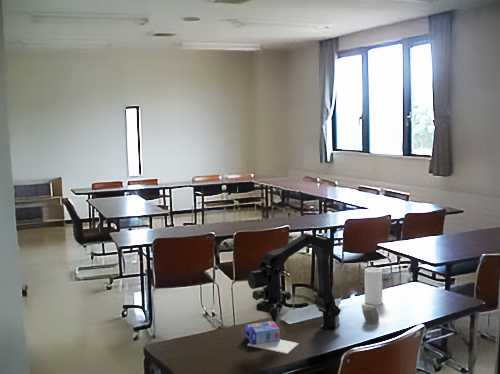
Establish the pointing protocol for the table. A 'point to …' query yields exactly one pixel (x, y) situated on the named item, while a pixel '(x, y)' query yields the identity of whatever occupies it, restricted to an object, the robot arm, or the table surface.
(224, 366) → the table surface
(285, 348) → the mat
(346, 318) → the table surface
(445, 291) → the table surface
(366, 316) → the mineral specimen
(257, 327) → the ink cartridge box
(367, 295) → the cup
